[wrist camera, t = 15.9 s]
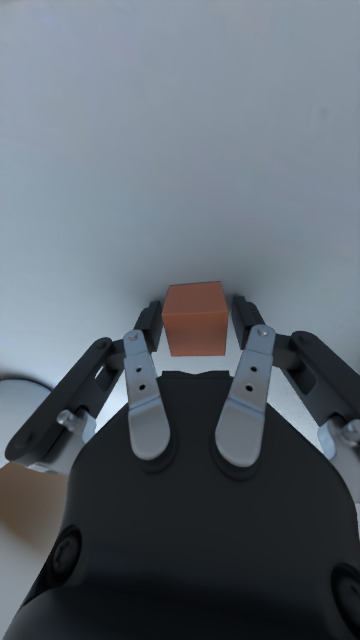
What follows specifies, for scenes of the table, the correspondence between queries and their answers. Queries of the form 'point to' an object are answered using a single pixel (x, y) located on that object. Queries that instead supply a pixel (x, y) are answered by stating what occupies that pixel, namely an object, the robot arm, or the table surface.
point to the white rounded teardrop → (17, 408)
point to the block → (196, 319)
